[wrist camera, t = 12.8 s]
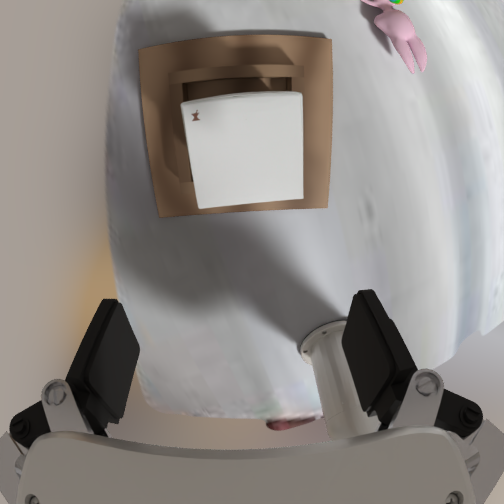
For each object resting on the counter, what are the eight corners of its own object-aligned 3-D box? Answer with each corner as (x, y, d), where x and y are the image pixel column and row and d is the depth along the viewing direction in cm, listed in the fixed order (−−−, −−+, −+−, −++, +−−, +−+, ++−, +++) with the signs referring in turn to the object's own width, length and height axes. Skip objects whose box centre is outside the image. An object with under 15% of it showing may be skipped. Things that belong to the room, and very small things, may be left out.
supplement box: (209, 163, 29) (193, 212, 18) (202, 97, 25) (177, 99, 14) (278, 158, 29) (305, 202, 18) (275, 91, 25) (303, 89, 14)
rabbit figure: (332, -23, 18) (391, 79, 24) (345, -46, 13) (417, 71, 18) (374, -27, 17) (429, 71, 22) (391, -46, 12) (457, 65, 17)
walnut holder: (328, 40, 22) (341, 34, 19) (325, 204, 33) (335, 219, 30) (141, 50, 22) (128, 45, 18) (161, 214, 33) (153, 229, 29)
